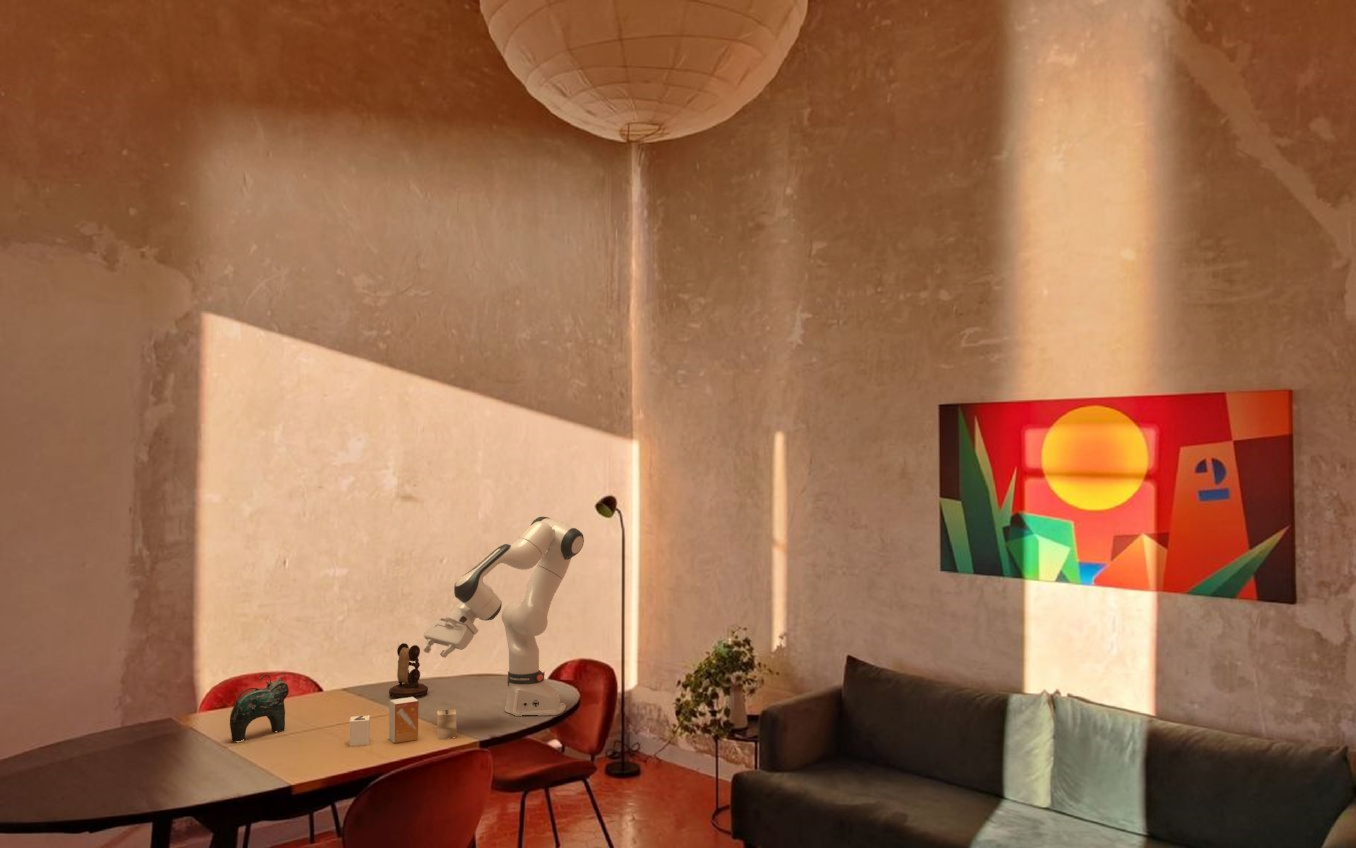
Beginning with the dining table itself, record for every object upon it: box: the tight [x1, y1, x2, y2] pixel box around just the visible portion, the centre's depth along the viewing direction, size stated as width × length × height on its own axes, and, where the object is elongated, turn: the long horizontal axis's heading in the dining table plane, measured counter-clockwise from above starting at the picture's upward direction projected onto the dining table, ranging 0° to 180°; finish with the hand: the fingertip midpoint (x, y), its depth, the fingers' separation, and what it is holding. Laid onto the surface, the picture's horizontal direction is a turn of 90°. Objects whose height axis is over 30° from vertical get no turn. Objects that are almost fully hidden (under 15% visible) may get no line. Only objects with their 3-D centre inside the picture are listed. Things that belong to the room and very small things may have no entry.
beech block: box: [436, 708, 457, 740], centre depth 325 cm, size 6×6×8 cm
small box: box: [388, 696, 419, 744], centre depth 321 cm, size 8×6×13 cm
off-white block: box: [349, 714, 371, 747], centre depth 318 cm, size 6×6×8 cm
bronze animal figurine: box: [229, 674, 289, 741], centre depth 326 cm, size 20×6×20 cm, turn 145°
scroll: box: [388, 642, 429, 698], centre depth 379 cm, size 15×15×20 cm
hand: (433, 654), depth 330 cm, fingers open, 8 cm apart
